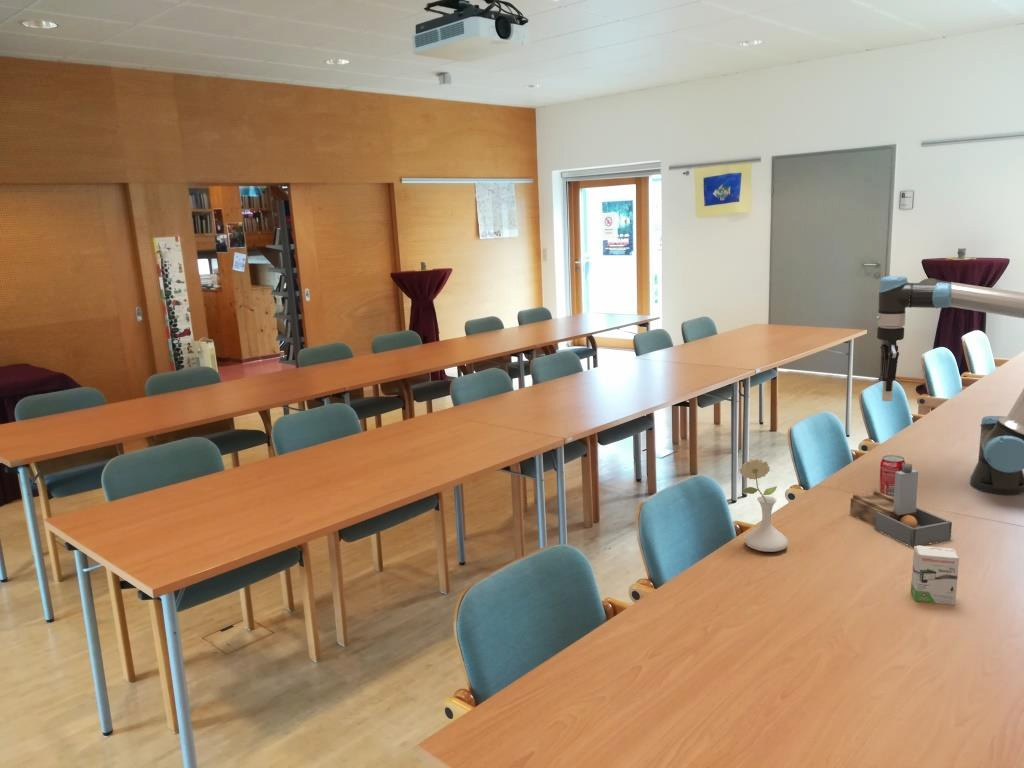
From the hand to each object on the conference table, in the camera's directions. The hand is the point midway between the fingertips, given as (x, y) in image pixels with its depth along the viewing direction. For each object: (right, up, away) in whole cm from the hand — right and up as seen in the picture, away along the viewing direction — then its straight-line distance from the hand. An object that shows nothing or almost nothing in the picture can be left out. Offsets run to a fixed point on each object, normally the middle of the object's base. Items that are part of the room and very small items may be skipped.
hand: (886, 400), depth 240 cm
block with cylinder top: (-9, -31, -27) cm, 42 cm away
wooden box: (-11, -35, -19) cm, 41 cm away
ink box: (-21, -45, -64) cm, 81 cm away
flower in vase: (-50, -40, -32) cm, 71 cm away
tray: (-8, -37, -29) cm, 47 cm away
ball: (-8, -34, -28) cm, 45 cm away
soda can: (+1, -31, -2) cm, 31 cm away
